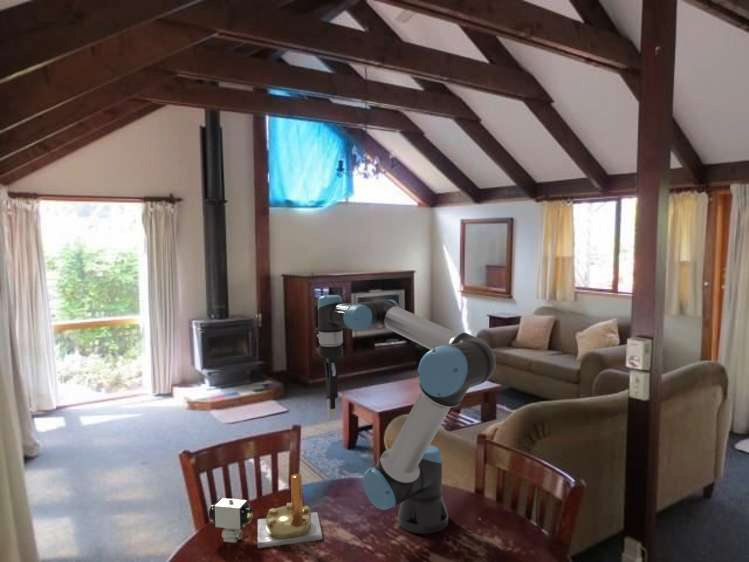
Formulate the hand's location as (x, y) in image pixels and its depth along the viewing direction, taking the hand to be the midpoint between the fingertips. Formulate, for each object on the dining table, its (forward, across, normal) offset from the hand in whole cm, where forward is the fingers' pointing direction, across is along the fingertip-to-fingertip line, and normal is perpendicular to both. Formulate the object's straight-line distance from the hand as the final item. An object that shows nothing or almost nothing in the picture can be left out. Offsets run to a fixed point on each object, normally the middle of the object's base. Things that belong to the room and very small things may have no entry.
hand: (332, 417), depth 165 cm
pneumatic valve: (+30, +11, -31) cm, 44 cm away
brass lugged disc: (+28, +11, -15) cm, 33 cm away
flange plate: (+29, +11, -15) cm, 35 cm away
